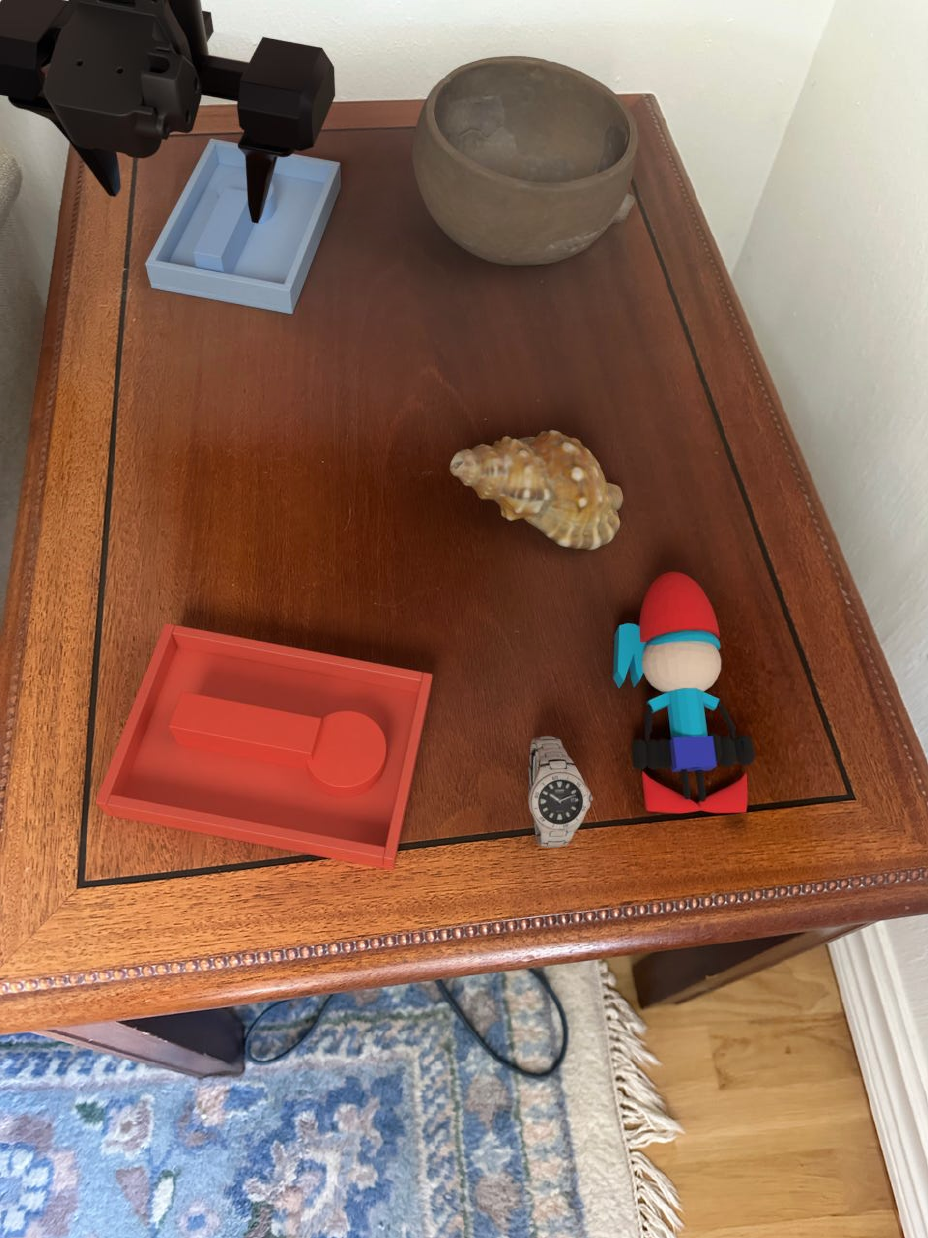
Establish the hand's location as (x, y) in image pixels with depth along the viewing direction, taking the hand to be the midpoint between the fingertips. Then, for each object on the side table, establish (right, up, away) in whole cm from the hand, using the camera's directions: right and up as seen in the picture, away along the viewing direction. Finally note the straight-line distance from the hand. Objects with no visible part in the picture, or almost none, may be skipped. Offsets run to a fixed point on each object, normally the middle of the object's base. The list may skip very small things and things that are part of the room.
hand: (186, 205), depth 57 cm
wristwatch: (+22, -37, -5) cm, 43 cm away
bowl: (+22, +7, +20) cm, 31 cm away
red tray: (+7, -34, -5) cm, 35 cm away
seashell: (+23, -19, +6) cm, 30 cm away
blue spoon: (-1, +5, +16) cm, 17 cm away
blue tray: (0, +5, +17) cm, 18 cm away
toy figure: (+31, -31, -1) cm, 44 cm away
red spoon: (+7, -34, -5) cm, 35 cm away
